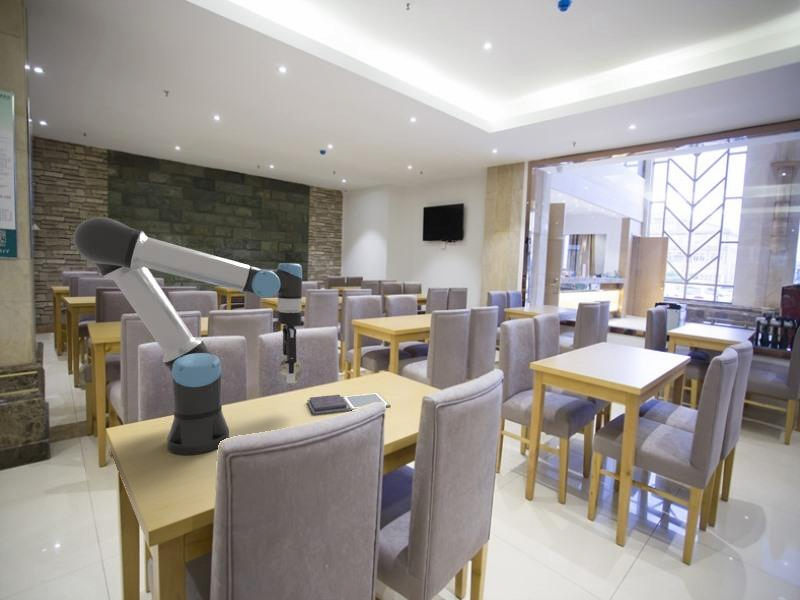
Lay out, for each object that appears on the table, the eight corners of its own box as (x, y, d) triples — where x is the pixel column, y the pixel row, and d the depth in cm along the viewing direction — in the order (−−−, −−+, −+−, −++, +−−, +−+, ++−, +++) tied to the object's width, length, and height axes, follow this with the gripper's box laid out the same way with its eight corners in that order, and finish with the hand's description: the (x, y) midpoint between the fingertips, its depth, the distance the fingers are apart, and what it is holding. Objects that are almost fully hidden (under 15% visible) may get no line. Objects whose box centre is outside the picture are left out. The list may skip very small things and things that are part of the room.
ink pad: (313, 414, 133) (313, 408, 133) (307, 402, 144) (307, 397, 144) (349, 410, 137) (349, 404, 137) (340, 399, 148) (340, 393, 148)
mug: (268, 385, 129) (270, 355, 133) (285, 391, 138) (287, 362, 142) (289, 382, 127) (290, 352, 131) (305, 388, 136) (306, 359, 140)
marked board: (351, 411, 137) (351, 409, 136) (341, 398, 150) (341, 396, 149) (390, 406, 142) (390, 404, 142) (377, 394, 155) (377, 392, 155)
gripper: (306, 315, 124) (305, 387, 126) (296, 307, 145) (296, 369, 147) (281, 315, 121) (280, 389, 123) (274, 307, 142) (274, 370, 144)
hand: (288, 378), depth 135 cm, fingers closed on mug, 10 cm apart
